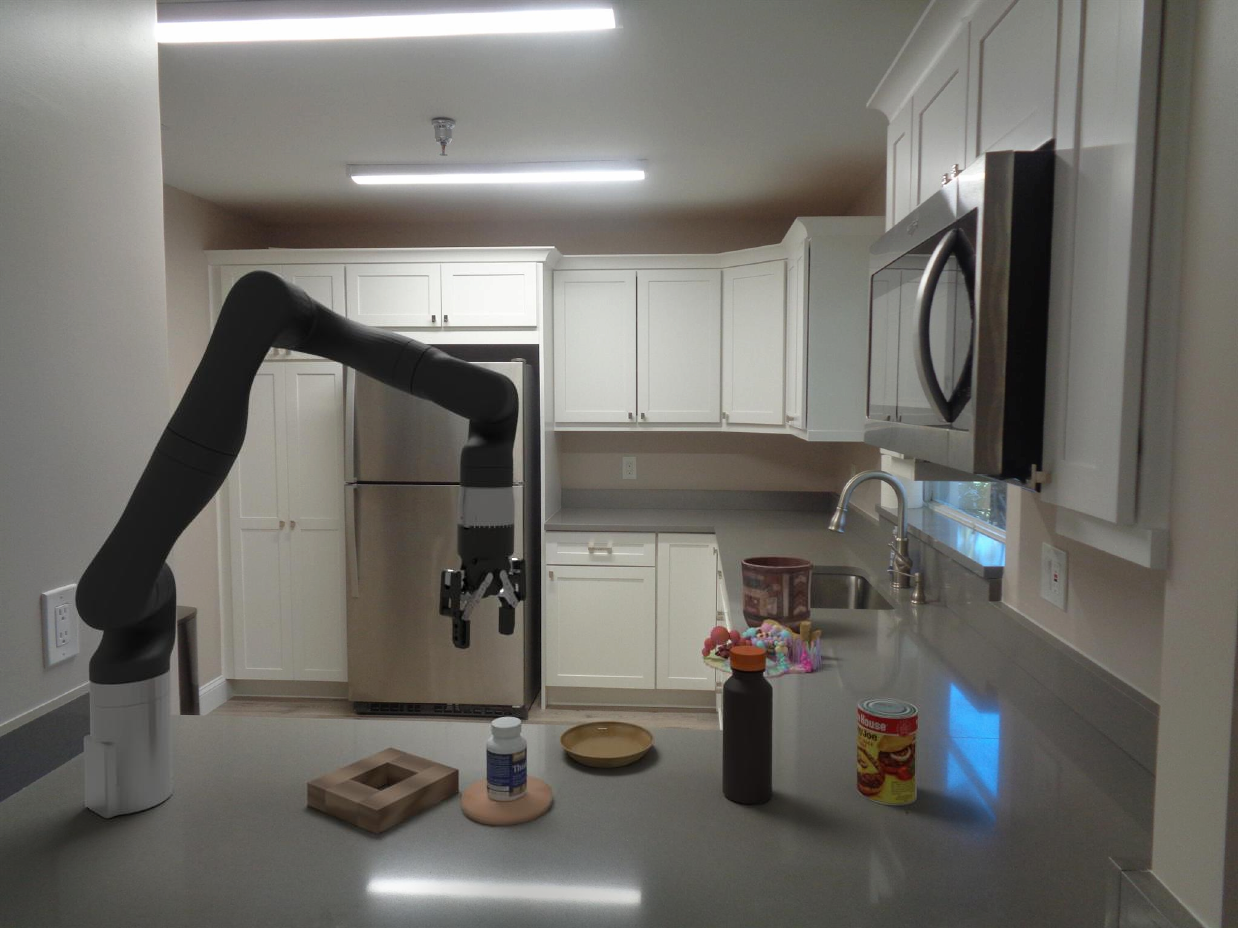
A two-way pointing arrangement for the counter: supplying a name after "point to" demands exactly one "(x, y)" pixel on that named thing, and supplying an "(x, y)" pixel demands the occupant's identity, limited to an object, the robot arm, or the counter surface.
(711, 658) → the candy landscape model
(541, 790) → the salmon pink disc
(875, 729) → the canned food
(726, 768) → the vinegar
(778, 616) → the pottery
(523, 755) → the pill bottle
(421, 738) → the counter surface
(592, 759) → the plant saucer
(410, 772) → the block
